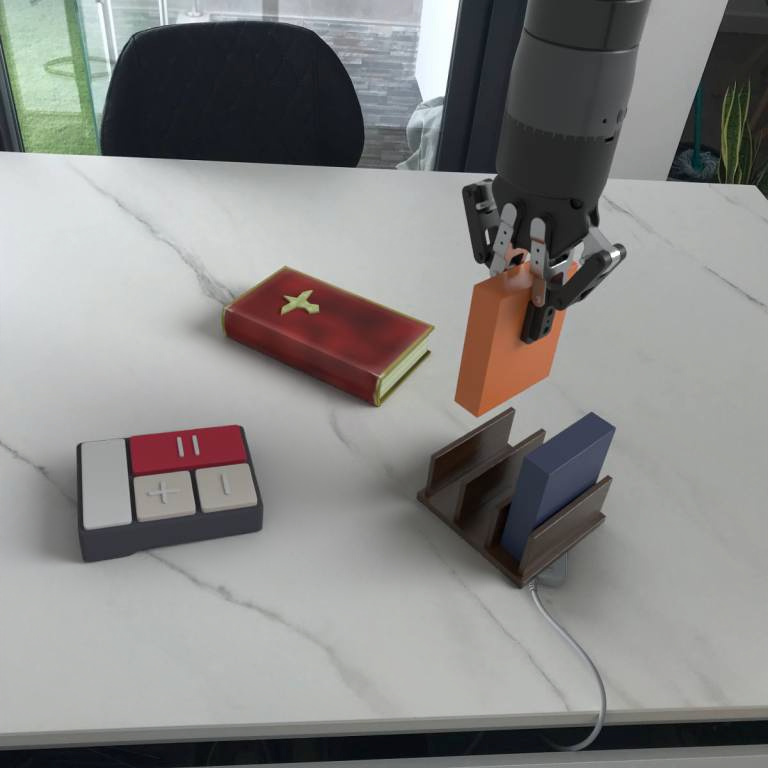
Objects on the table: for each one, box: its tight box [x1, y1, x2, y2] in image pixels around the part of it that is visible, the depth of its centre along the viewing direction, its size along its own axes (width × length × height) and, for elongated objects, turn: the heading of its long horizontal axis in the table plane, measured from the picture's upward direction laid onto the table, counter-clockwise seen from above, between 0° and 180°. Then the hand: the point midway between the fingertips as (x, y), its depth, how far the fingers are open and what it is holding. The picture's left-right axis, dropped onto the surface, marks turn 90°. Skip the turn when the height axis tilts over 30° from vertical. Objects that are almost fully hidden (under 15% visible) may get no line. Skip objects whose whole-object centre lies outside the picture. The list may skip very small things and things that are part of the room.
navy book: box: [500, 411, 617, 562], centre depth 66 cm, size 3×9×11 cm, turn 132°
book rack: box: [416, 406, 614, 590], centre depth 71 cm, size 13×12×6 cm
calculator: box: [75, 424, 264, 563], centre depth 69 cm, size 11×4×15 cm
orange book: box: [453, 259, 580, 419], centre depth 61 cm, size 3×9×11 cm, turn 131°
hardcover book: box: [221, 265, 436, 408], centre depth 89 cm, size 12×21×4 cm, turn 59°
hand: (516, 328), depth 60 cm, fingers closed on orange book, 2 cm apart
